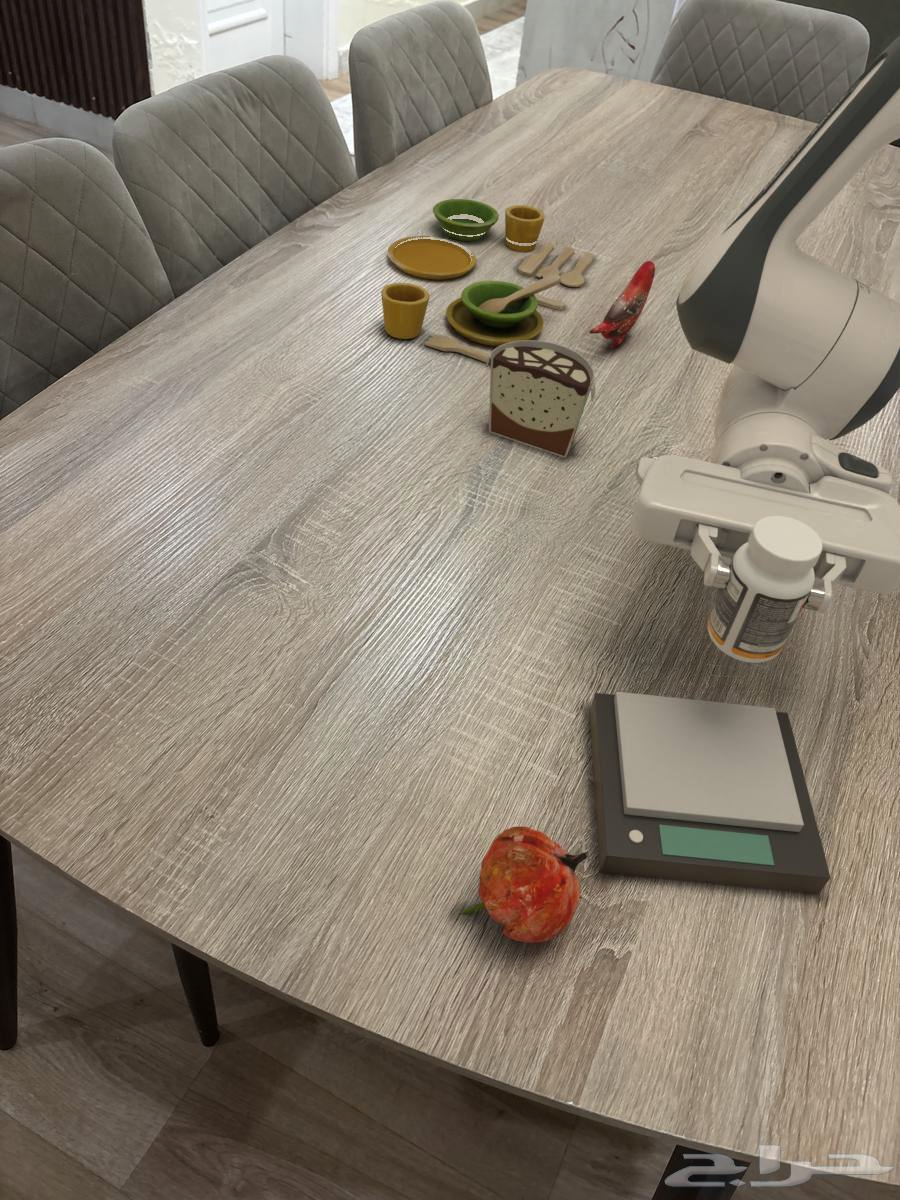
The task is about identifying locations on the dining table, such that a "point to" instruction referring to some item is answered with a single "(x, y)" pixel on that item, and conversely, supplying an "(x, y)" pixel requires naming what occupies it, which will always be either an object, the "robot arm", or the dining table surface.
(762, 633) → the pill bottle
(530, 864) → the pomegranate
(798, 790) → the kitchen scale
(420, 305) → the tableware set
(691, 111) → the dining table surface
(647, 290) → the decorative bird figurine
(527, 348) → the cake slice cutout
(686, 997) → the dining table surface
